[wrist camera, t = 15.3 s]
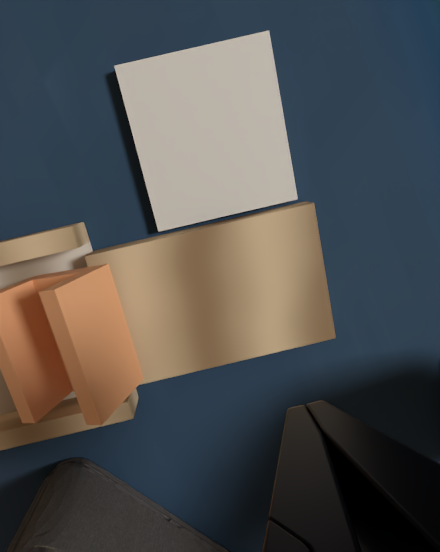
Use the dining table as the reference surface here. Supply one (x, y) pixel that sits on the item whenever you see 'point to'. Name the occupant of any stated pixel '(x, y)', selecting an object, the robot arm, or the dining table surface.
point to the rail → (187, 299)
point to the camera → (100, 517)
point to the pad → (209, 130)
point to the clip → (67, 344)
